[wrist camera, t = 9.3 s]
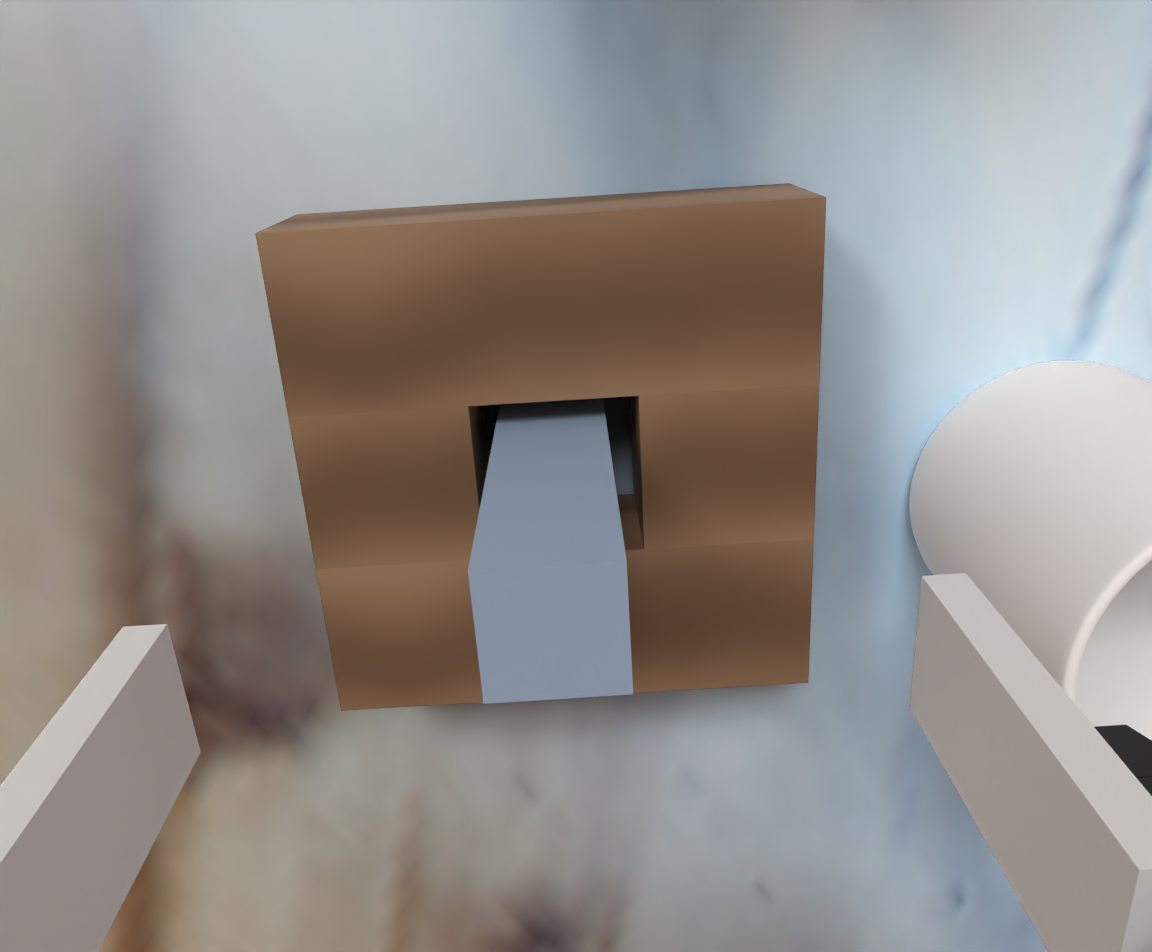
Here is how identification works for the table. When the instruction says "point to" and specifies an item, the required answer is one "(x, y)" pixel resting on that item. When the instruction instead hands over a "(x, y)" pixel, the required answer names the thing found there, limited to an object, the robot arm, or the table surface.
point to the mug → (1053, 523)
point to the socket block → (553, 373)
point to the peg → (550, 559)
